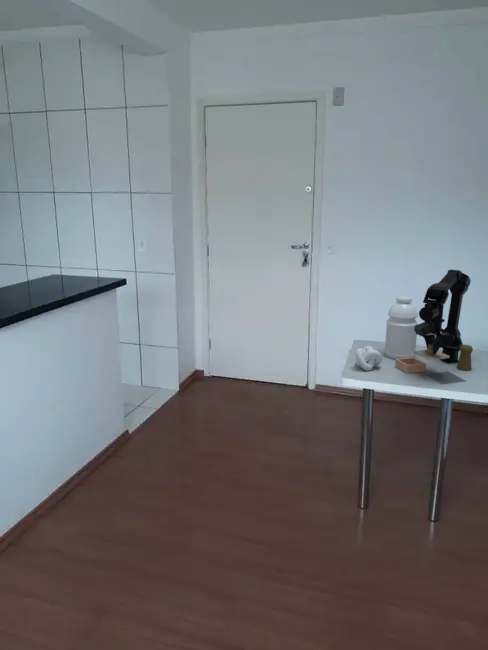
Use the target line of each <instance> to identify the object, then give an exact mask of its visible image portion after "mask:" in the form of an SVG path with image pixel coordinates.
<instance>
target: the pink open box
mask: <svg viewBox="0 0 488 650" xmlns="http://www.w3.org/2000/svg"><path fill="white" fill-rule="evenodd" d="M394 367H395V368H396V369H398V370H400V371H401V372H403V373H404V374H406V375H408V374H418V373H425V372H426V368H427V363H425V362H423V361H422V360H420V359H418V358H416V357H412V358H402V359H395V363H394Z"/></svg>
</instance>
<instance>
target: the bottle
mask: <svg viewBox="0 0 488 650" xmlns="http://www.w3.org/2000/svg"><path fill="white" fill-rule="evenodd" d="M395 300H396V302H395V303H393V305H392V306H390V308H389V310H388V311H387V312H388V313H387V315H388V316H389V318H388V319H387V320H386V328H385V329H386V330H385V344H384V345H385V346H384V355H385V356H386V357H388V358H389V359H393V360H396V359H402V358H412V357H414V358H416V354H415V353H414V351H416V349H417V339H418V338H417V336H418V334H416V333H415V331H414V327H415V326H416V325H418V324H419V322H418V321H417V320H416V319H417V318H418V317H419V313H418V311H417V310H416V307H415V306H414V304H413V303H412V300H413V299H412V297H411V296H406V295H405V296H404V295H401V296H399V295H398V296H397V297H396V299H395Z"/></svg>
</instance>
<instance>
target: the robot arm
mask: <svg viewBox="0 0 488 650" xmlns="http://www.w3.org/2000/svg"><path fill="white" fill-rule="evenodd" d="M471 280H472V279H471V278H470V276H469V275H467V274H466V273H463V271H461V270H459V269H448V270H447V273H446V274H445V275H444V276H443V277H442V279H441V280H439V282H437V283H433V284H431V285H430V286H428V288H427V289H426V291H425V295H424V298H423V301H422V303H423V304H424V307H422V308H420V309H419V311H418V317H419V319H421V320H422V321H423V322H420V323H418V325H416V326H415V327H414V331H415V333H416V334H417V336H419V337H422V338H423V339H424V342H425V345H426V350H428V345H429V343H433V354H436V353H437V351H440V348H441V349H442V351H441V352H442V353H444V354H447V355H449V356H450V358H444V359H438V360H439V361H442V362H444V363H445V364H458V361H459V353H460V346H461V345H464V344H463V340H462V337H461V336H462V335H461V331H460V330H459V329H460V328H459V322H460V316H461V309H462V303H463V299H464V295H465V294H466V293H467V291H468V290H469V287H470V285H471ZM449 291H450V293H451V297H450V303H449V309H448V311H449V312H448V316H447V324H446V327H445V328H443V325H442V324H443V323H445V321H446V320H445V319H444V318H443V315H444V306H445V304H446V302H447V300H448V297H449V295H450V293H449Z"/></svg>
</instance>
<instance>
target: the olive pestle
mask: <svg viewBox="0 0 488 650" xmlns="http://www.w3.org/2000/svg"><path fill="white" fill-rule="evenodd" d="M473 351H474V349H473V347H472V346H471V345H469V344H463V345H461V346H460V351H459V353H460V354H459V356H458V363H457V364H456V365H457V366H456V369H457V370H458V371H463V372H470V371H472V353H473Z"/></svg>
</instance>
